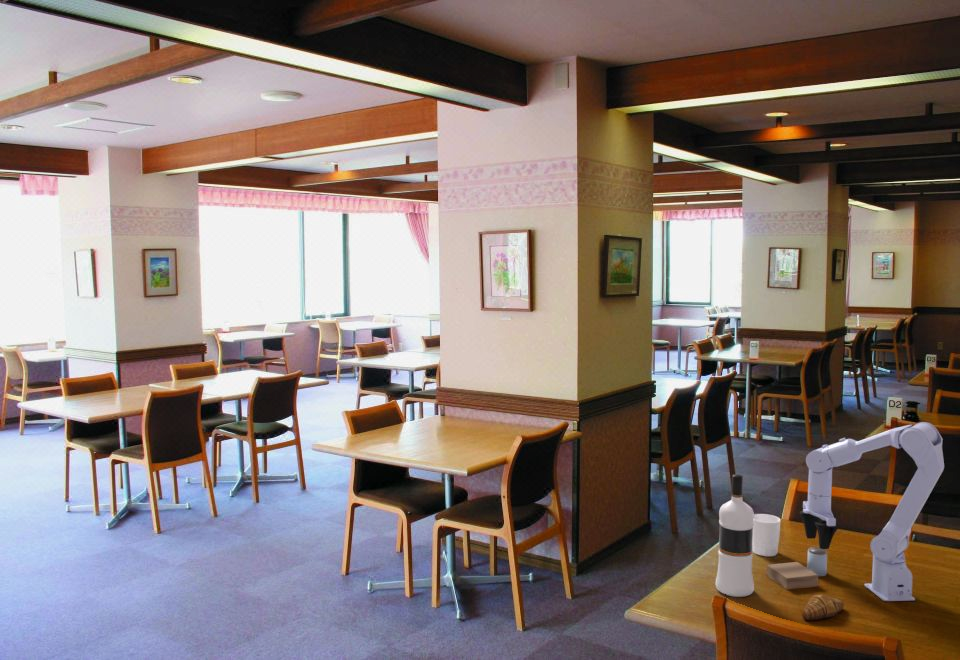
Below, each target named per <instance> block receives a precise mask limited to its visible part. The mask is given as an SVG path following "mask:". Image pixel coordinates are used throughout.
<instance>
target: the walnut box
mask: <svg viewBox="0 0 960 660" xmlns="http://www.w3.org/2000/svg"><path fill="white" fill-rule="evenodd" d="M765 574H766V577H767V578H769V579H770V580H772V581H773V582H775V583H776V584H777V585H779V586H780V587H782V588H784V589H785V590H797V589H807V588H814V587H818V586H819V576H818V575H817V574H816V573H814V572H813V571H811V570H809V569H808V568H807V566H804V565H803V564H801V563H800V562H798V561H793V562H792V561H791V562H782V563H780V562H779V563H772V564H766V573H765Z"/></svg>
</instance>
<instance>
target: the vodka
mask: <svg viewBox="0 0 960 660" xmlns="http://www.w3.org/2000/svg"><path fill="white" fill-rule="evenodd" d="M743 477H744V476H743V475H742V474H736V473H735V474H732V475H731V499H730V500H728V501H727V502H725V503H723V504H722V505H721V506H720V507H719V511H718V512H719V513H718V515H719V516H718V517H719V520H718V524H719V529H718V530H719V531H718V533H719V534H718V536H719V539H718V541H719V542H718V543H719V544H718V551H717V553H718V565H717V573H716V578H715V587H716V590H717V591H718V592H719V593H721V594H723V595H725V594H726V596H727V597H728V596H730V597H734V598H742V597H743V598H744V597H748V596H750V595H752V594H753V593H754V591H755V582H754V578H753V577H754V576H753V557H754V552H753V550H752V540H753V526H754V523H753V521H754V515H755V513H754V510H753V508H752V506H750V504H748V503H747V502H745V501H744V500H743V489H744V487H743V485H744V482H743V481H744V478H743Z"/></svg>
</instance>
